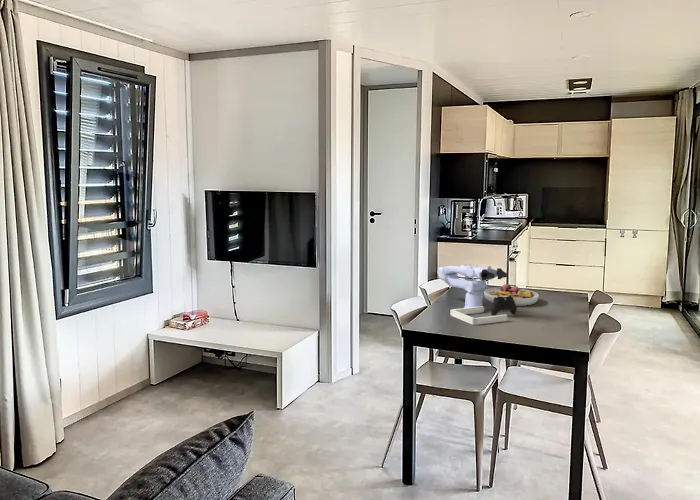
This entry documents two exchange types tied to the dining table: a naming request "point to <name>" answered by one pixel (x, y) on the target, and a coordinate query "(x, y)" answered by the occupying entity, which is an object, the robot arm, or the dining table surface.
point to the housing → (475, 321)
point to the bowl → (512, 295)
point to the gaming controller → (503, 305)
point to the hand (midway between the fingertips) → (500, 275)
